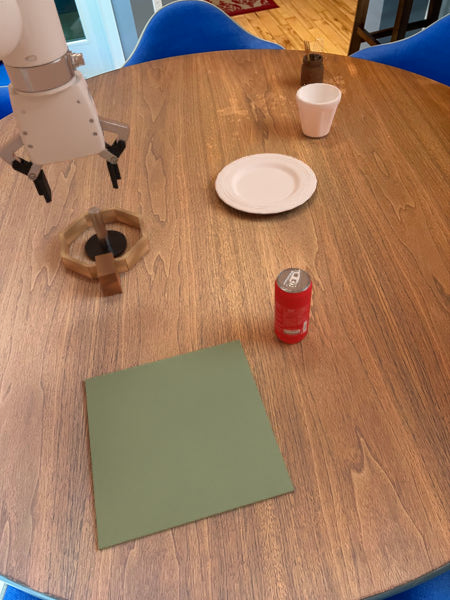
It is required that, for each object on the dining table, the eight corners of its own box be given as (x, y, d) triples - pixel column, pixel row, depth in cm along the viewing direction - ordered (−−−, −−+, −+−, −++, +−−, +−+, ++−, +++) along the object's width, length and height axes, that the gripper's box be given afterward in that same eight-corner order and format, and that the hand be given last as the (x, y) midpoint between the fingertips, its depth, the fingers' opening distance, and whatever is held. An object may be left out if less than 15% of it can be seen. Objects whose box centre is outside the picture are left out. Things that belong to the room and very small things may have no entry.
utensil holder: (327, 82, 129) (331, 35, 120) (312, 91, 126) (316, 43, 117) (309, 77, 132) (312, 30, 123) (295, 85, 129) (297, 38, 120)
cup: (340, 142, 109) (344, 102, 102) (296, 144, 110) (297, 105, 103) (334, 119, 116) (338, 81, 109) (292, 122, 116) (294, 84, 109)
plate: (300, 154, 107) (300, 146, 106) (329, 210, 93) (330, 202, 92) (208, 168, 106) (208, 161, 104) (224, 228, 92) (224, 220, 91)
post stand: (87, 265, 88) (72, 229, 81) (84, 238, 93) (70, 201, 86) (130, 255, 89) (118, 218, 82) (124, 229, 94) (113, 192, 87)
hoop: (67, 305, 82) (58, 286, 78) (63, 230, 95) (54, 210, 91) (158, 284, 84) (153, 263, 80) (141, 213, 97) (136, 192, 93)
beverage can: (269, 341, 74) (269, 288, 65) (279, 316, 77) (281, 263, 68) (302, 350, 72) (307, 297, 63) (311, 324, 75) (317, 270, 66)
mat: (99, 550, 56) (98, 549, 55) (85, 380, 71) (84, 379, 71) (294, 491, 59) (294, 490, 58) (239, 340, 74) (239, 339, 74)
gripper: (110, 46, 60) (137, 165, 73) (-31, 70, 58) (22, 188, 71) (116, 70, 56) (144, 192, 68) (-37, 97, 53) (21, 218, 66)
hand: (82, 190), depth 70 cm, fingers open, 9 cm apart
